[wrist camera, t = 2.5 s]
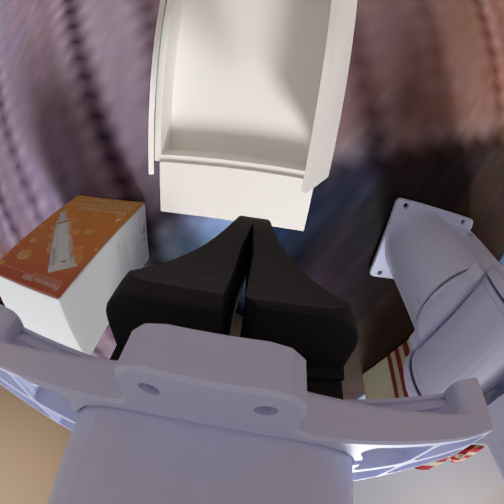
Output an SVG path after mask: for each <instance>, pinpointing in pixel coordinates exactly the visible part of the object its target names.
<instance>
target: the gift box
mask: <svg viewBox="0 0 504 504" xmlns="http://www.w3.org/2000/svg"><path fill="white" fill-rule="evenodd" d="M412 351H413V349H412V346H411V343H410V340H409V339H408V340H407V341H405V342H404V343H403V344H402V345H401V346H399V347H398V348H397V349H396V350H394V351H393V352H392V353H390V354H389V355H388V356H387V357H386V358H384V359H383V360H382V361H380V362H379V363H378V364H376V365H375V366H374V367H372V368H371V369H369V370H368V371H367V372H365V373H364V374H363V382H364V389H365V396H366V399H388V398H402V397H409V395H408V393H407V390H406V386H405V381H404V373H403V367H404V362H405V359H406V357H407V356H408V354H409V353H410V352H412ZM494 385H495V384H494ZM494 385H493V386H494ZM489 389H490V388H489ZM489 389H488V390H489ZM484 393H485V392H484ZM484 447H485V446H484V445H477V446H476V444H471V445H470V446H468V447H467V448H465V449H463V450H462V451H460V452H458V453H456V454H455V455H453V456H451V457H447V458H444V459H441V460H438V461H435V462H432V463H428V464H425V465H422V466H418V467H415V468H416V469H421V470H426V469H427V470H428V469H430V468H432V467H434V466H436V465H438V464H442V463H443V462H444V461H446V459H448V458H449V459H450V461H451V462H459V461H462V460H464V459H466V458H468V457H470V456H472V455H474V454H475V453H477V452H478V451H480V450H481V449H482V448H484Z"/></svg>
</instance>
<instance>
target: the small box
mask: <svg viewBox="0 0 504 504" xmlns="http://www.w3.org/2000/svg"><path fill="white" fill-rule="evenodd" d="M148 259H149V250H148V239H147V226H146V210H145V202H134V201H124V200H115V199H106V198H98V197H90V196H82V195H78V196H77V197H75V198H74V199H72V200H71V201H70V202H68V203H67V204H66V205H64V206H63V207H62V208H60V209H59V210H58V211H57V212H55V213H54V214H53V215H51V216H50V217H49V218H48V219H46V220H45V221H44V222H43V223H41V224H40V225H39V226H38V227H36V228H35V229H34V230H33V231H32V232H31V233H29V234H28V235H27V236H26V237H25V238H24V239H23V240H21V241H20V242H19V243H18V244H17V245H16V246H15V247H14V248H12V249H11V250H10V251H9V252H8V253H7V254H6V255H5V256H4V257H3V258H2V259H1V260H0V296H1V298H2V300H3V302H4V304H5V306H6V307H7V308H9V309H11V310H12V311H14V312H15V313H16V314H17V315H18V316H19V318H20V319H21V321H22V323H23V326H24V327H25V328H27V329H29V330H31V331H33V332H35V333H37V334H40V335H42V336H44V337H46V338H49V339H51V340H53V341H56V342H58V343H60V344H63V345H65V346H68V347H70V348H73V349H75V350H78V351H81V352H83V353H86V354H89V355H91V354H92V352H93V351H94V349H95V347H96V345H97V343H98V341H99V340H100V338H101V336H102V334H103V332H104V331H105V329H106V327H107V325H108V324H109V322H108V319H107V315H106V306H107V302H108V301H109V299H110V298H111V296H112V294H113V293H114V291H115V290H116V288H117V287H118V285H119V284H120V282H121V281H122V279H123V278H124V277H125V276H126V274H127V273H128V272H129V271H130V270H136V269H140V268H143V267H144V265H145V264H146V262H147V261H148Z"/></svg>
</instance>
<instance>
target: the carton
mask: <svg viewBox="0 0 504 504" xmlns="http://www.w3.org/2000/svg"><path fill="white" fill-rule="evenodd" d="M331 1H332V0H167V3H166V9H165V15H164V22H163V29H162V37H161V45H160V55H159V65H158V77H157V92H156V112H155V161H160V202H161V211H163V212H171V213H179V214H187V215H195V216H203V217H210V218H218V219H225V220H232V221H235V220H236V219H237V218H238V217H239V216H247V217H254V218H261V219H268V220H269V221H270V222H271V225H272V226H274V227H280V228H287V229H293V230H300V231H304V227H305V223H306V219H307V214H308V210H309V205H310V201H311V196H312V192H313V189H312V190H310V191H309V192H308V193H306V194H305V193H302V192H301V189H302V184H303V179H304V174H305V169H306V163H307V158H308V153H309V147H310V142H311V136H312V130H313V125H314V119H315V113H316V107H317V101H318V95H319V89H320V82H321V76H322V69H323V63H324V56H325V49H326V41H327V34H328V26H329V18H330V10H331Z"/></svg>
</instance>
